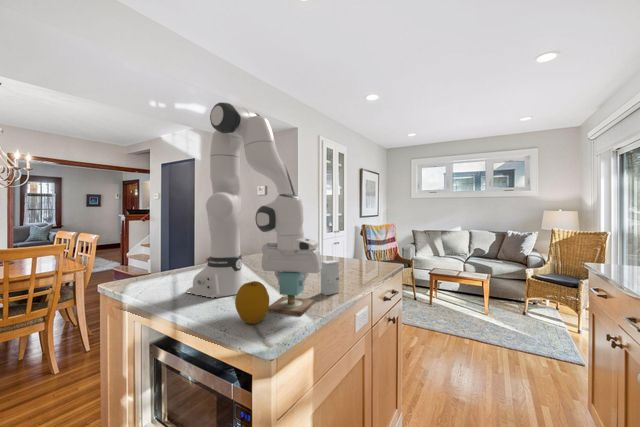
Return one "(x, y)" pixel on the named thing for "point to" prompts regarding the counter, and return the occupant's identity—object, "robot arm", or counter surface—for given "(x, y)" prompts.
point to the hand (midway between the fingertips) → (291, 285)
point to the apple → (252, 302)
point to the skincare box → (330, 277)
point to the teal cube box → (290, 283)
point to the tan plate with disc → (291, 305)
